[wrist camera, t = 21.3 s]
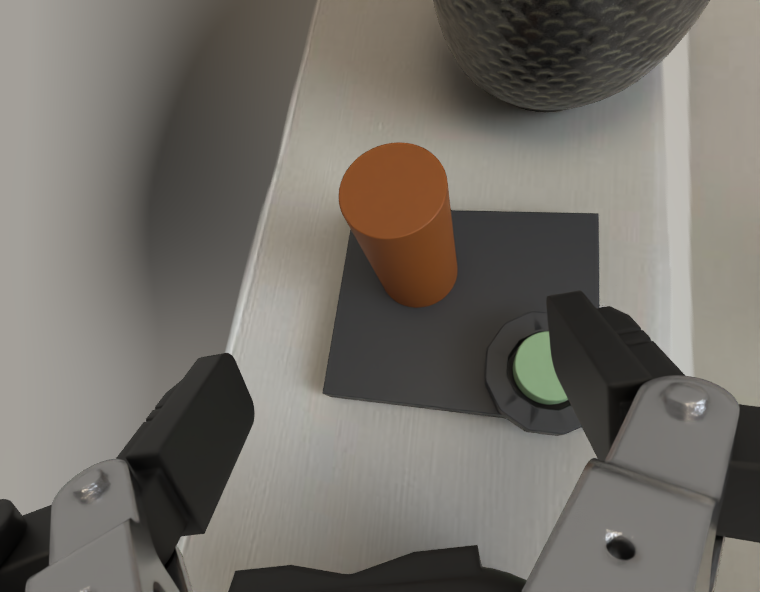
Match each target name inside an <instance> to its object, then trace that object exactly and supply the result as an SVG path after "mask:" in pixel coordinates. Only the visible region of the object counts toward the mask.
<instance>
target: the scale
mask: <svg viewBox="0 0 760 592" xmlns="http://www.w3.org/2000/svg"><path fill="white" fill-rule="evenodd" d="M451 217H452V226H453V234H454V243H455V251H456V260H457V278H456V281H455V284H454V286H453V288H452V289H451V291H450V292H449V293H448V294H447V295H446V296H445V297H444V298H443V299H442V300H440V301H439V302H437V303H435V304H433V305H430V306H426V307H420V308H415V307H408V306H404V305H402V304H400V303H398V302H396V301H395V300H393V299H392V298H391V297H390V296H389V295H388V293H387V292H386V291H385V289H384V287H383V285H382V284H381V282H380V280H379V278H378V276H377V275H376V273H375V271H374V269H373V268H372V266H371V264H370V262H369V260H368V259H367V257H366V255H365V253H364V252H363V250H362V248H361V246H360V244H359V243H358V241H357V239H356V237H355V236H354V234H353V232H352V230H350V236H349V242H348V248H347V253H346V259H345V265H344V271H343V277H342V283H341V289H340V294H339V300H338V306H337V312H336V318H335V324H334V330H333V335H332V341H331V347H330V353H329V359H328V365H327V371H326V376H325V382H324V388H323V394H325V395H328V396H330V397H337V398H345V399H353V400H361V401H369V402H378V403H386V404H394V405H402V406H411V407H419V408H427V409H435V410H444V411H452V412H460V413H468V414H476V415H485V416H493V417H501V418H507V419H508V420H510V421H511V422H513V423H514V424H515V425H517V426H518V427H520V428H521V429H522V430H524V431H526V432H531V433H539V434H547V435H555V436H559V435H563V434H566V433H569V432H571V431H573V430H576V429H578V428H580V427H582V426H581V424H580V422H579V420H578V418H577V416H576V414H575V412H574V410H573V408H572V406H571V404H570V402H569V400H567V401H565V402H562V403H559V404H552V405H548V404H541V403H538V402H535V401H533V400H531V399H530V398H528V397H527V396H526V395H524V394H523V393H522V392H521V390H520V389H519V388H518V386H517V384H516V382H515V380H514V376H513V362H514V358H515V355H516V353H517V350H518V348H519V347H520V345H521V344H522V343H523V342H524V341H525V340H526V339H527V338H528V337H530V336H532V335H534V334H536V333H539V332H545V331H549V328H548V317H547V306H546V300H547V296H550V295H555V294H561V293H566V292H572V291H577V290H581V291H582V292H583V293H584V294H585V295H586V296H587V298H588V299H589V300H590V301H591V303H592V304H593V305H594V306H595V307H596V308H599V217H598V214H593V213H546V212H499V211H452V210H451Z"/></svg>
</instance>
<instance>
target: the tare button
mask: <svg viewBox="0 0 760 592" xmlns="http://www.w3.org/2000/svg"><path fill="white" fill-rule="evenodd" d="M513 376H514V380H515V382H516V384H517V386H518V388H519V389H520V390H521V392H522V393H523V394H524V395H526V396H527V397H528V398H530V399H531V400H533V401H535V402H538V403H541V404H548V405H552V404H559V403H562V402H565V401H567V400H568V398H567V396H566V394H565V392H564V390H563V388H562V386H561V384H560V382H559V380H558V378H557V375H556V373H555V370H554V366H553V362H552V357H551V349H550V338H549V331H545V332H539V333H536V334H534V335H532V336H530V337H528V338H527V339H526V340H525V341H524V342H523V343H522V344H521V345H520V347H519V348H518V350H517V353H516V355H515V358H514V362H513Z"/></svg>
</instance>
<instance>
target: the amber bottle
mask: <svg viewBox="0 0 760 592" xmlns="http://www.w3.org/2000/svg"><path fill="white" fill-rule="evenodd" d="M339 205H340V209H341V212H342V214H343V216H344V218H345V220H346V221H347V223H348V225H349V227H350V229H351V230H352V232H353V234H354V236H355V237H356V239H357V241H358V243H359V244H360V246H361V248H362V250H363V252H364V253H365V255H366V257H367V259H368V260H369V262H370V264H371V266H372V268H373V269H374V271H375V273H376V275H377V276H378V278H379V280H380V282H381V284H382V285H383V287H384V289H385V291H386V292H387V293H388V295H389V296H390V297H391V298H392V299H393V300H395V301H396V302H398V303H400V304H402V305H404V306H408V307H415V308H420V307H426V306H430V305H433V304H435V303H437V302H439V301H440V300H442V299H443V298H444V297H445V296H446V295H447V294H448V293H449V292H450V291H451V289H452V288H453V286H454V284H455V281H456V278H457V260H456V251H455V243H454V234H453V226H452V217H451V209H450V200H449V192H448V183H447V176H446V173H445V170H444V168H443V166H442V164H441V163H440V161H439V160H438V159H437V158H436V157H435V156H434V155H433V154H432V153H430V152H429V151H428V150H426V149H424V148H422V147H420V146H417V145H414V144H409V143H389V144H384V145H381V146H377V147H375V148H373V149H371V150H369V151H367V152H365V153H364V154H362V155H361V156H360V157H358V158H357V159H356V160H355V161H354V162H353V163H352V164H351V165H350V167H349V168H348V169H347V171H346V173H345V174H344V176H343V179H342V181H341V185H340V188H339Z"/></svg>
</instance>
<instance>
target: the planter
mask: <svg viewBox="0 0 760 592" xmlns="http://www.w3.org/2000/svg"><path fill="white" fill-rule="evenodd" d="M709 1H710V0H433V2H434V7H435V11H436V14H437V18H438V21H439V24H440V27H441V30H442V32H443V35H444V38H445V40H446V42H447V45H448V47H449V49H450V51H451V53H452V54H453V56H454V58H455V59H456V61H457V62H458V64H459V66H460V67H461V69H462V70H463V71H464V72H465V74H466V75H467V76H468V77H469V78H470V79H471V80H472V81H473V82H474V83H475V84H477V85H478V86H479V87H481V88H482V89H483V90H485V91H486V92H487V93H489V94H491V95H493V96H494V97H496V98H498V99H500V100H502V101H504V102H507V103H510V104H513V105H516V106H518V107H521V108H524V109H527V110H532V111H540V112H554V111H561V110H566V109H570V108H575V107H581V106H584V105H588V104H591V103H594V102H598V101H601V100H603V99H605V98H607V97H610V96H612V95H614V94H616V93H619V92H621V91H623V90H624V89H626V88H627V87H629V86H631V85H632V84H634V83H635V82H637V81H638V80H640V79H641V78H642V77H644V76H645V75H646V74H647V73H648V72H650V71H651V70H652V69H653V68H654V67H655V66H657V65H658V64H659V63H660V62H661V61H662V60H663V59H664V58H665V57H666V56H667V55H668V54H669V53H670V52H671V51H672V50H673V48H674V47H675V46H676V45H677V44H678V43H679V42H680V40H681V39H682V38H683V37H684V36H685V35H686V34H687V32H688V31H689V30H690V29H691V27H692V26H693V25H694V23H695V22H696V21H697V19H698V18H699V17H700V15H701V14H702V12H703V11H704V9H705V8H706V6H707V4H708V3H709Z"/></svg>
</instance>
